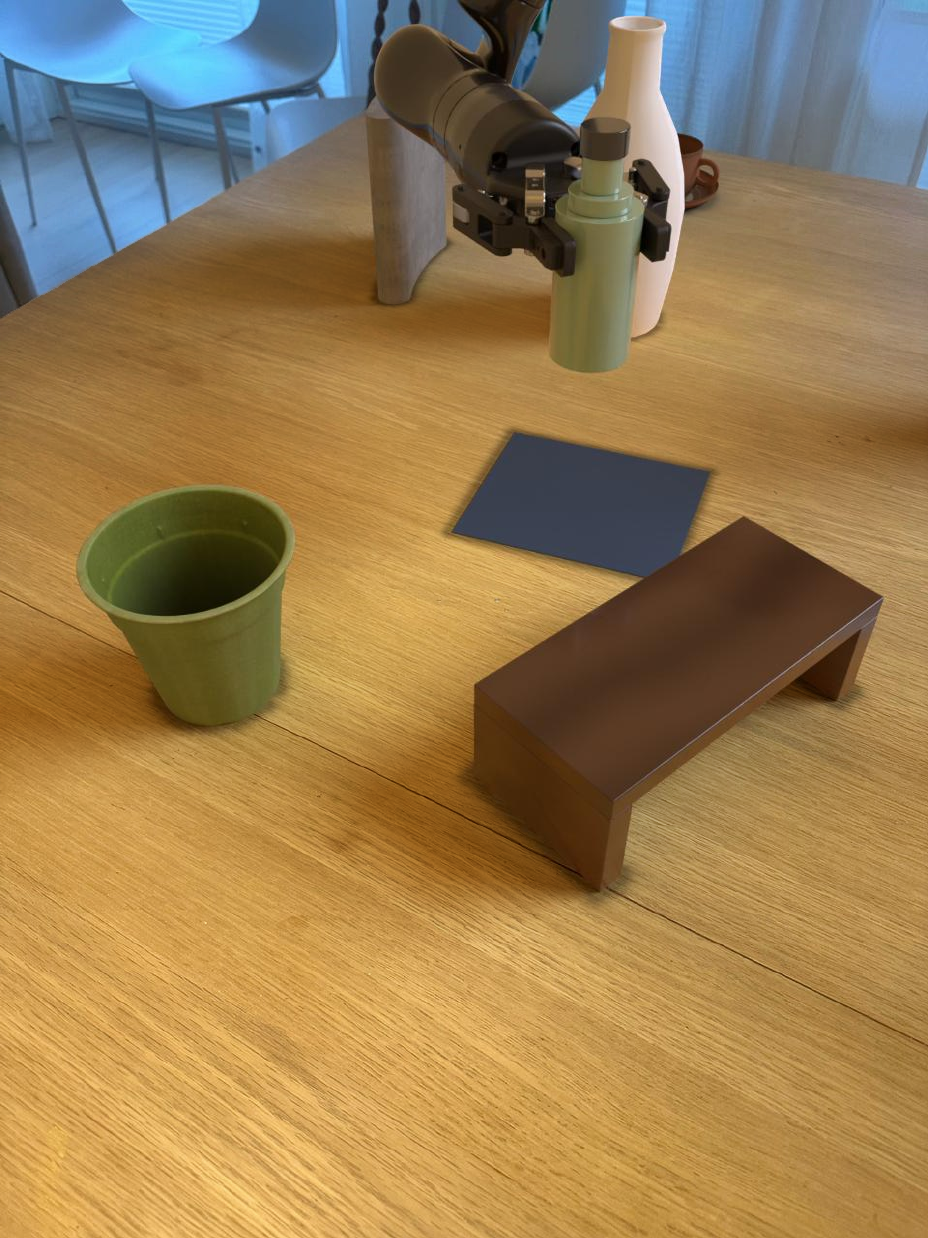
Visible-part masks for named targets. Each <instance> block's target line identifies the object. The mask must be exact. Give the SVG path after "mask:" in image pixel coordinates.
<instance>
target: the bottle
mask: <svg viewBox="0 0 928 1238" xmlns="http://www.w3.org/2000/svg"><path fill="white" fill-rule="evenodd" d="M608 31H609V40H608V47H607V54H606V55H607V57H606V64H605V72H604V79H603V87H602V88H601V90H600V92H599V94H598V96H597V97H596V98H595V100H594V102H593V104H592V105H591V107H590V109H589V110H588V113H587V114H586V116H584V119H583V121H585V120H587V119H590V118H596V117H613V118H619V119H623V120H625V121H627V122H629V123H630V125H631V131H630V143H629V153H628V155H627V156H626V157H625V159H624V171H623V172H629V169H630V168H631V167H632V162H633V161H634V160H637V159H646V160H649V161H650V162H651V163H652V164H653V166H654V167H655V169H656V170H657V171H658V173H659V174H660V176H661V177H662V179H663V180H664V181H665V183H666V184H667V186H668V187H669V189H670V196H669V199H668V207H667V215H666V221H667V222H668V223H669V224H671V228H672V230H671V238H670V246H669V252H666V258H665V260H663V261H658V262H651V261H650V260H648V259H647V258H646V257H645V256H644V255H643V254H642V253H641V252H640V257H639V267H638V277H637V287H636V296H635V306H634V316H633V326H632V336H631V339H633V338H636V337H639V336H642V335H645V334H647V333H648V332H650V331H651V330H653V329H654V328H655V327H656V326H657V324H658V322H659V320H660V316H661V313H662V310H663V307H664V303H665V300H666V296H667V293H668V290H669V285H670V282H671V279H672V275H673V272H674V267H675V263H676V257H677V251H678V246H679V242H680V236H681V230H682V225H683V219H684V213H685V210H686V209H685V205H684V202H685V200H684V171H683V165H682V159H681V153H680V146H679V140H678V136H677V133H678V132H677V129H676V128H675V125H674V122H673V119H672V117H671V115H670V112H669V109H668V107H667V105H666V102H665V100H664V97H663V94H662V92H661V74H662V58H663V44H664V43H663V42H664V35H665V33H666V31H667V23H666V21H664V20H663V19H660V18H656V17H653V16H647V15H625V16H618V17H615V18H613V19H611V20H610V21H609V22H608ZM583 121H582V122H583ZM576 133H577V135H578V136H579V138H580V126H578V129H577V131H576Z"/></svg>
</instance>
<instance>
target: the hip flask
mask: <svg viewBox="0 0 928 1238" xmlns="http://www.w3.org/2000/svg"><path fill="white" fill-rule="evenodd" d="M365 127H366V139H367V140H366V141H367V154H368V169H369V184H370V185H369V186H370V198H371V199H370V200H371V212H372V213H371V215H372V226H373V242H374V243H373V244H374V256H375V259H374V260H375V273H376V285H377V286H376V287H377V298H378V301H380V302H381V303H382V304H387V305H400V304H401V305H402V304H404V303H407V302H408V301H410V299H411V296H412V292H413V289H414V286H415V284H416V282H417V280H418V278H419V276H420V275H421V273H422V272H423V271H424V269H425V268H426V266H427V265H428V264H429V263H430V261H431V260H432V259H433V258H434V257H435V256H436V255H437V254H439V252H441V251H442V250H443V249H444V248H445V247H447V204H446V203H447V202H446V201H447V200H446V199H447V198H446V197H447V196H446V194H447V193H446V161H445V160H444V159H443V158H442V157H441V155H440V154H439V153H438V151H437V150H435V149H434V148H433V147H432V146H431V145H429V144H428V143H427V142H425V141H424V140H422V139H420V138H419V137H417V136H416V135H414V134H413V133H411V132H410V131H408V130H407V129H405V128H404V127H402V126H401V125H400V124H398V123H397V122H395V121H394V120H393V119H392V118H390V117H389V116H388V115H387V114H386V113H385V112H384V110H383V109H382V107H381V106H380V104H379V101H378V99H377V96H376V95H375V96H374V98H373V99H372V100H371V101H370V103H369V105H368V107H367V108H366V111H365Z"/></svg>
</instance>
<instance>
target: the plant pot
mask: <svg viewBox="0 0 928 1238" xmlns="http://www.w3.org/2000/svg"><path fill="white" fill-rule="evenodd" d="M295 545H296V535H295V530H294V527H293V523H292V522H291V520H290V518H289V517H288V515H287V513H286V512H285V511H284V509H282V508H281V506H279V505H278V504H277V503H275V502H274V501H273V500H271V499H269V498H268V497H266V496H264V495H262V494H260V493H257V492H254V491H253V490H248V489H246V488H242V487H237V486H232V485H225V484H192V485H191V484H190V485H183V486H178V487H172V488H168V489H164V490H159V491H156V492H153V493H150V494H147V495H145V496H142V497H140V498H137V499H135V500H133V501H131V502H130V503H127V504H126V505H123V506H121V507H120V508H118V509H117V510H116V511H114V512H112V513H111V514H110V515H108V516H107V517H104V519H103V520H101V521H100V522H99V523H98V524H97V525H96V527H95V528H94V529H93V531H92V532H90V533H89V534H88V536H87V537H86V538H85V540H84V542H83V544H82V545H81V548H80V549H79V553H78V556H77V559H76V567H75V572H76V573H75V574H76V578H77V582H78V584H79V587H80V590H81V591H82V592H83V594H84V596H85V597H86V598H87V599H88V600H89V602H90V603H92V604H93V605H94V606H95V607H97V608H98V609H99V610H101V611H103V612H104V613H106V615H107V617H108V619H110V621H111V623H112V624H113V625H114V626H115V627H116V628H117V629H118V630H120V632H121V633H122V634H123V637H124V638H125V640H126V641H127V643H128V645H129V647H130V648H131V649H132V652H133V653H134V655H135V657H136V658H137V659H138V661H139V663H140V665H141V666H142V668H143V670H144V671H145V673H146V675H147V676H148V678H149V680H150V682H151V683H152V685H153V686H154V688H155V690H156V692H157V693H158V695H159V696H160V698H161V700H162V701H163V703H164V704H165V706H166V707H167V709H168V710H169V711H170V712H171V713H172V714H173V716H175V717H177V718H178V719H180V720H182V721H184V722H187V723H189V724H193V725H198V726H204V727H206V726H207V727H216V726H217V727H218V726H221V725H225V724H230V723H237V722H240V721H243V720H245V719H248V718H249V717H251V716H253V715H254V714H256V713H258V712H259V711H261V710H262V709H263V708H264V707H266V706H267V704H268V703H270V701H271V700H272V699H273V697H274V696H275V694H276V693H277V690H278V688H279V685H280V681H281V680H280V679H281V659H282V657H281V655H282V654H281V651H282V650H281V649H282V648H281V647H282V611H283V610H282V609H283V607H282V605H283V603H282V602H283V590H284V586H285V582H286V573H287V568H288V567H289V566H290V563H291V561H292V558H293V556H294V552H295V551H294V550H295Z"/></svg>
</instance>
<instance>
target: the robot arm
mask: <svg viewBox="0 0 928 1238" xmlns="http://www.w3.org/2000/svg"><path fill="white" fill-rule="evenodd" d="M548 1H549V0H455V2H456V3H457V4H458V6H459V7H460V9H461V10H463V12H464V13H465V14H466V15H467V16H468V17H469V18H470V19H471V20H472V21H473V22H474V23H475V24H476V25H477V26H478V27H479V29H481V40H480V43H479V45H478V47H477V49H476V51H475V52H473V51H471V50H470V49H468V48H467V47H464V46H463V45H461V44H459V43H458V42H456V41H455V40H453V39H451V38H449V37H447V36H446V35H445V34H443V33H441V32H440V31H438V30H436V29H435V28H433V27H431V26H428V25H425V24H421V23H416V24H415V23H414V24H408V25H405V26H402V27H400V28H398V29H397V30H396V31H394V32H393V33H392V34H391V35H390V36H389V37H388V38H387V39H386V40H385V41H384V43H383V45H382V46H381V48H380V50H379V51H378V55H377V57H376V59H375V65H374V69H373V70H374V71H373V82H374V83H373V86H374V91H375V96H377V99H378V101H379V104H380V106H381V107H382V109H383V110H384V112H385V113H386V114H387V115H388V116H389V117H390V118H392V119H393V120H394V121H395V122H397V123H398V124H400V125H401V126H402V127H404V128H405V129H407V130H408V131H410V132H411V133H413V134H414V135H416V136H417V137H419V138H420V139H422V140H424V141H425V142H427V143H428V144H429V145H431V146H432V147H433V148H434V149H435V150H437V151H438V153H439V154H440V155H441V157H442V158H443V159H444V160H445V163H447V165H448V166H449V167H450V168H451V169H452V170H453V171H454V174H455V176H456V177H457V179H458V181H459V182H460V184H459V183H458V184H456V185H453V186H452V188H451V196H452V199H451V200H452V228H454V229H455V230H456V231H457V232H460V234H463V235H464V236H465V237H467V238H468V239H470V240H471V241H473V242H474V243H476V244H477V245H479V246H480V247H481V248H483V249H484V250H486V251H488V252H489V253H491V254H492V255H493V256H496V257H501V258H504V257H509V256H511V255H512V254H513V249H518V250H523V255H525V256H528V257H534V258H536V260H537V261H539V263H540V264H541V265H542V266H543V267H544V268H545V269H547V270H549V271H551V272H552V271H555V272H556V273H557V274H558V275H559V276H560V277H567V276H573V275H574V272H575V257H576V244H575V241H574V239H573V238H572V237H571V236H570V235H569V234H568V233H567V232H566V231H565V230H564V229H563V228H562V227H561V226H560V225H559V224H558V223H557V222H556V221H555V204H556V202H557V200H558V199H560V198H561V197H562V196H564V195H567V194H568V187H569V185H570V184H571V183H573V182H574V181H577V180H580V179H581V166H582V156H581V155H580V153H579V140H580V138H579V136H578V135H577V131H575V129H573V128H572V127H571V126H570V125H569V124H567V123H566V122H565V121H563V120H562V119H561V118H560V117H558V116H557V115H556V114H555V113H554V112H552V111H551V110H550V109H548V108H547V107H546V106H544V105H543V104H542V103H541V102H540V101H538V100H537V99H536V98H535V97H533V96H532V95H530V94H528V93H527V92H525V91H522V90H520V89H517V88H515V87H514V86H512V82H513V80H514V77H515V74H516V70H517V69H518V65H519V62H520V60H521V56H522V54H523V51H524V48H525V46H526V43H527V42H528V38H529V36H530V33H531V31H532V28H533V26H534V24H535V23H536V20H537V18H538V17H539V15H540V13H541V12H542V10H543V8H544V7H545V6H546V5H547V3H548ZM623 181H625V182H627V183H629V184H631V185H632V187H633V188H634V197H636V198H638V199H639V200H640V201H641V202H642V203H643V204H644V207H645V208H644V218H643V228H642V238H641V247H640V252H641V253H642V254H643V255H644V256H645V257H646V258H647V259H648V260H650V261H651V262H658V261H663V260H665V258H666V252H669V246H670V238H671V230H672V228H671V224H669V223H668V222H667V221H666V215H667V207H668V199H669V196H670V189H669V187H668V186H667V184H666V183H665V181H664V180H663V179H662V177H661V176H660V174H659V173H658V171H657V170H656V169H655V167H654V166H653V164H652V163H651V162H650V161H649V160H646V159H637V160H634V161H633V162H632V167H631V168H630V169H629V172H623Z"/></svg>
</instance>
